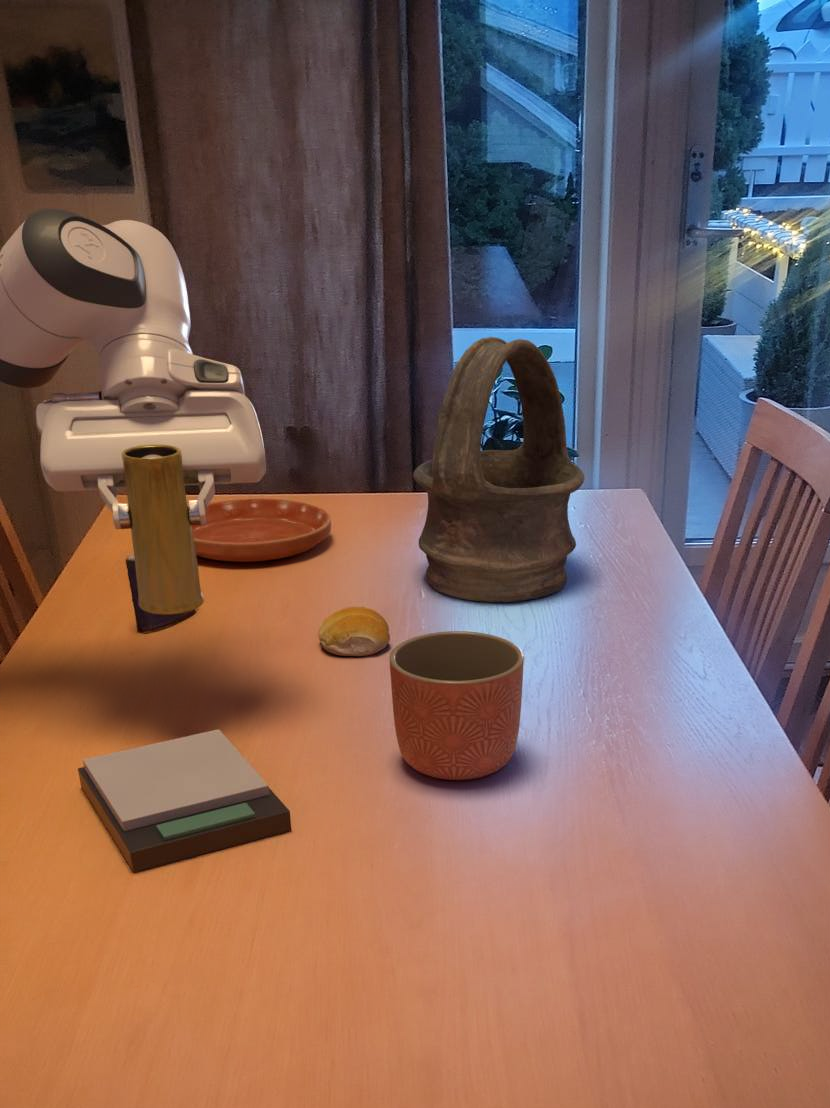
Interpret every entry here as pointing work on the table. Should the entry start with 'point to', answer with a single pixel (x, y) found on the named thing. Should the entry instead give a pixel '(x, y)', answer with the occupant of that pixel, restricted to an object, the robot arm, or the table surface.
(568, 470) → the clay pot
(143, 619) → the flask
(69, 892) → the table surface
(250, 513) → the saucer
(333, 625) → the bread roll
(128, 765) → the scale
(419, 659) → the planter
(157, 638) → the table surface
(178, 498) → the vase
